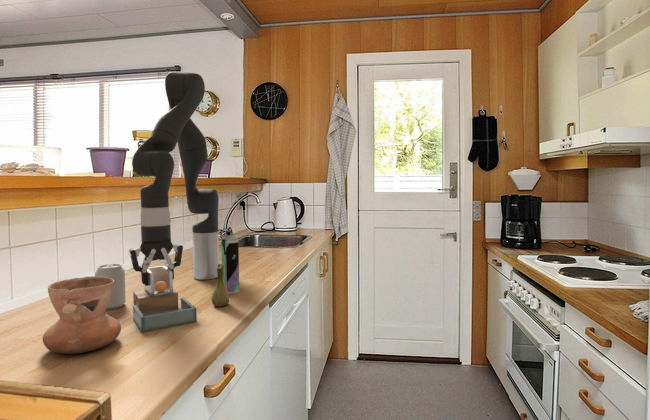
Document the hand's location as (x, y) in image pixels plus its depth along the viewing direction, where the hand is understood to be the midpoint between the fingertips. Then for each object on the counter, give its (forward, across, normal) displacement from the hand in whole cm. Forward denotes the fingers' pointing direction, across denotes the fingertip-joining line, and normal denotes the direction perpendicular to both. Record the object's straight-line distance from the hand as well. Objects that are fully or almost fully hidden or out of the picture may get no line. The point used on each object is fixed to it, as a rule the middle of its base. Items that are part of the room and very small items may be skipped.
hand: (158, 283), depth 111 cm
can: (+8, +11, -11) cm, 17 cm away
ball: (-1, -1, +4) cm, 4 cm away
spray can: (+8, -23, -6) cm, 25 cm away
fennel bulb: (+8, -15, +6) cm, 18 cm away
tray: (+7, +1, +10) cm, 12 cm away
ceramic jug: (+7, +19, +17) cm, 26 cm away
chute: (+2, 0, 0) cm, 2 cm away
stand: (+7, +1, 0) cm, 8 cm away
